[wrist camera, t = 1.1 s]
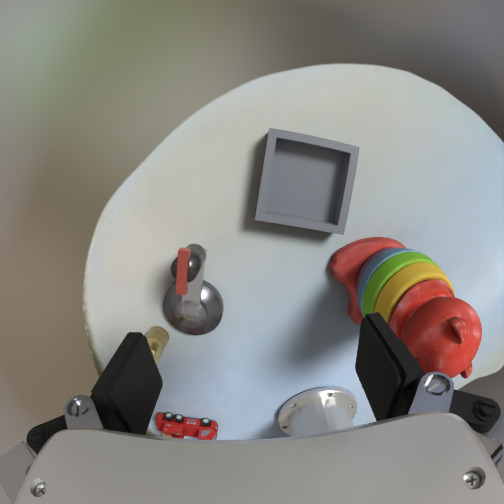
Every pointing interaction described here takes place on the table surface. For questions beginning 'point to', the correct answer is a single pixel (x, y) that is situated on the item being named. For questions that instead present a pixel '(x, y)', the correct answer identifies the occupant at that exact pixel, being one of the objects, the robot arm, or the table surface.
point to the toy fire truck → (186, 427)
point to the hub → (208, 298)
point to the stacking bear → (410, 302)
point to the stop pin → (157, 341)
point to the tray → (306, 181)
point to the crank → (190, 285)
